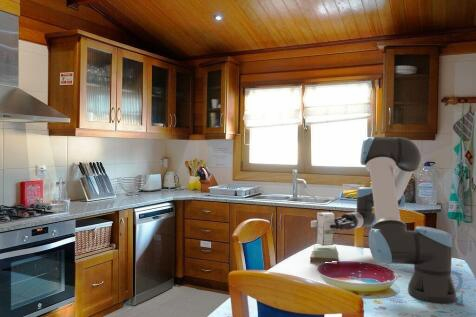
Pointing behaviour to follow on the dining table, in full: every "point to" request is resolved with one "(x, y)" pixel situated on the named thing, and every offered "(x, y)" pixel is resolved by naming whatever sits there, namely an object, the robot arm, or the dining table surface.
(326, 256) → the sage slab
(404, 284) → the dining table surface
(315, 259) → the walnut slab
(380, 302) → the dining table surface
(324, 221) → the syrup box
